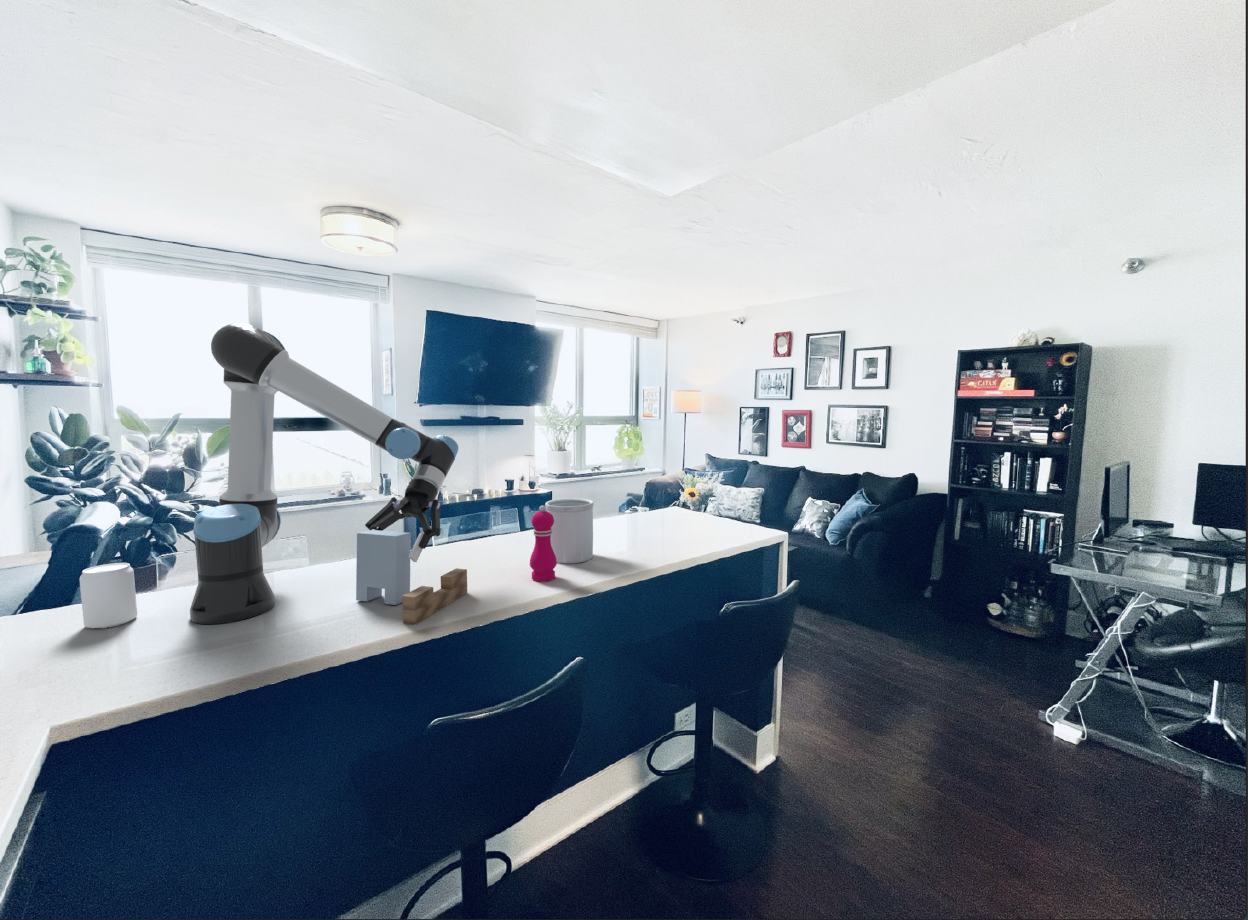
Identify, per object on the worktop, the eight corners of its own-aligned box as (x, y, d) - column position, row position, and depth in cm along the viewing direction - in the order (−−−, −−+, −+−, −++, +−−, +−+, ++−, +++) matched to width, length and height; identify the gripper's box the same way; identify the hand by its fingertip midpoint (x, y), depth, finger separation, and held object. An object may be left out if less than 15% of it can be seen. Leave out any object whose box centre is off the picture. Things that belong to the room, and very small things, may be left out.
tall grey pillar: (356, 600, 123) (356, 533, 122) (371, 594, 127) (372, 529, 127) (395, 604, 120) (396, 536, 119) (409, 599, 125) (410, 532, 124)
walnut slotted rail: (415, 624, 110) (414, 597, 109) (403, 623, 111) (402, 595, 110) (467, 592, 129) (466, 569, 128) (456, 591, 130) (456, 568, 129)
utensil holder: (544, 565, 152) (543, 506, 151) (547, 551, 167) (546, 497, 166) (594, 564, 154) (594, 505, 152) (593, 550, 168) (593, 497, 167)
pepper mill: (538, 584, 135) (537, 509, 134) (525, 577, 141) (524, 505, 139) (561, 578, 140) (561, 506, 138) (547, 572, 146) (547, 502, 144)
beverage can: (145, 613, 115) (140, 560, 114) (125, 627, 108) (120, 571, 107) (98, 618, 112) (93, 564, 111) (74, 633, 105) (69, 575, 104)
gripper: (472, 496, 136) (440, 568, 123) (391, 492, 143) (353, 560, 130) (460, 479, 131) (425, 553, 118) (377, 475, 137) (335, 545, 124)
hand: (387, 557), depth 124 cm, fingers open, 13 cm apart
